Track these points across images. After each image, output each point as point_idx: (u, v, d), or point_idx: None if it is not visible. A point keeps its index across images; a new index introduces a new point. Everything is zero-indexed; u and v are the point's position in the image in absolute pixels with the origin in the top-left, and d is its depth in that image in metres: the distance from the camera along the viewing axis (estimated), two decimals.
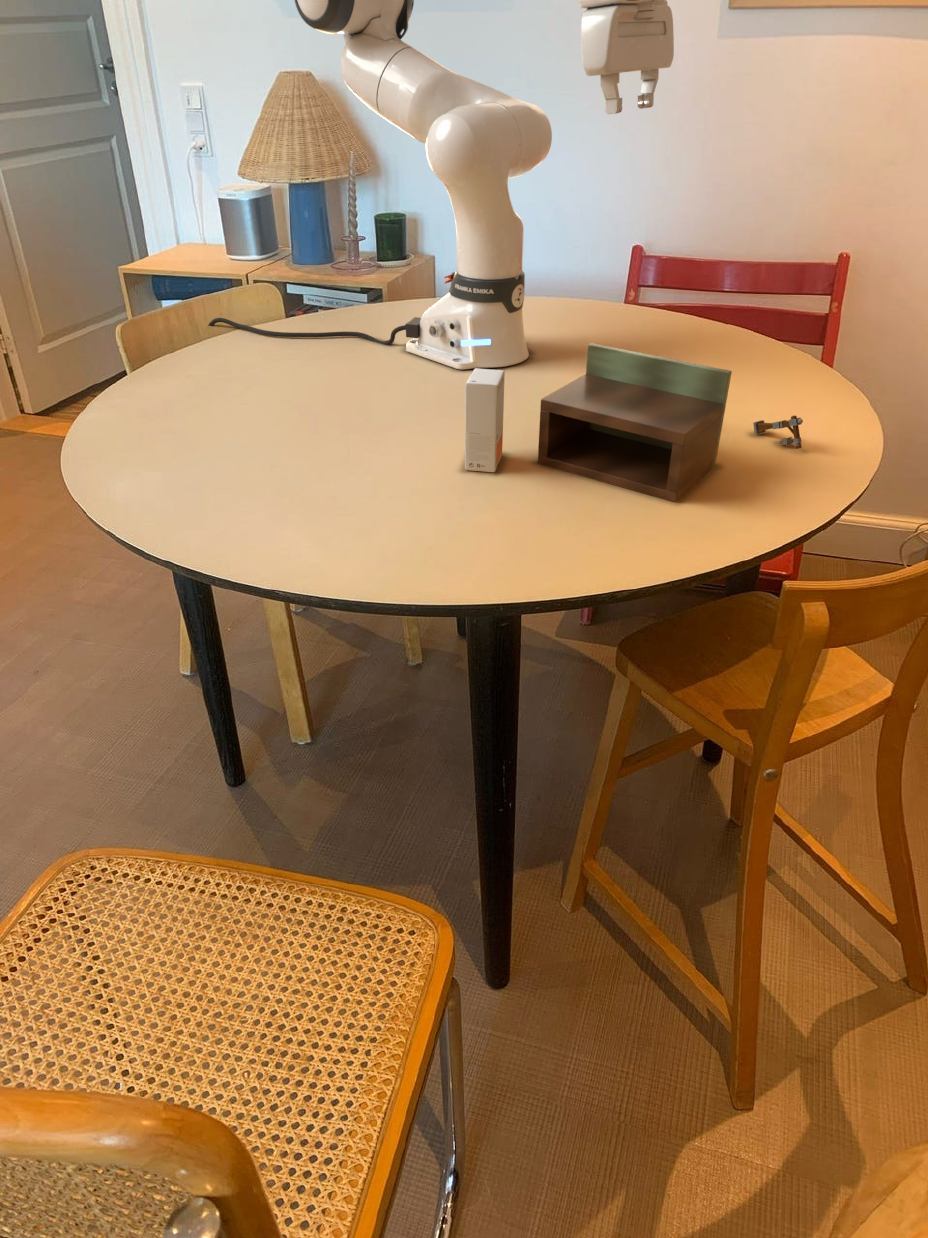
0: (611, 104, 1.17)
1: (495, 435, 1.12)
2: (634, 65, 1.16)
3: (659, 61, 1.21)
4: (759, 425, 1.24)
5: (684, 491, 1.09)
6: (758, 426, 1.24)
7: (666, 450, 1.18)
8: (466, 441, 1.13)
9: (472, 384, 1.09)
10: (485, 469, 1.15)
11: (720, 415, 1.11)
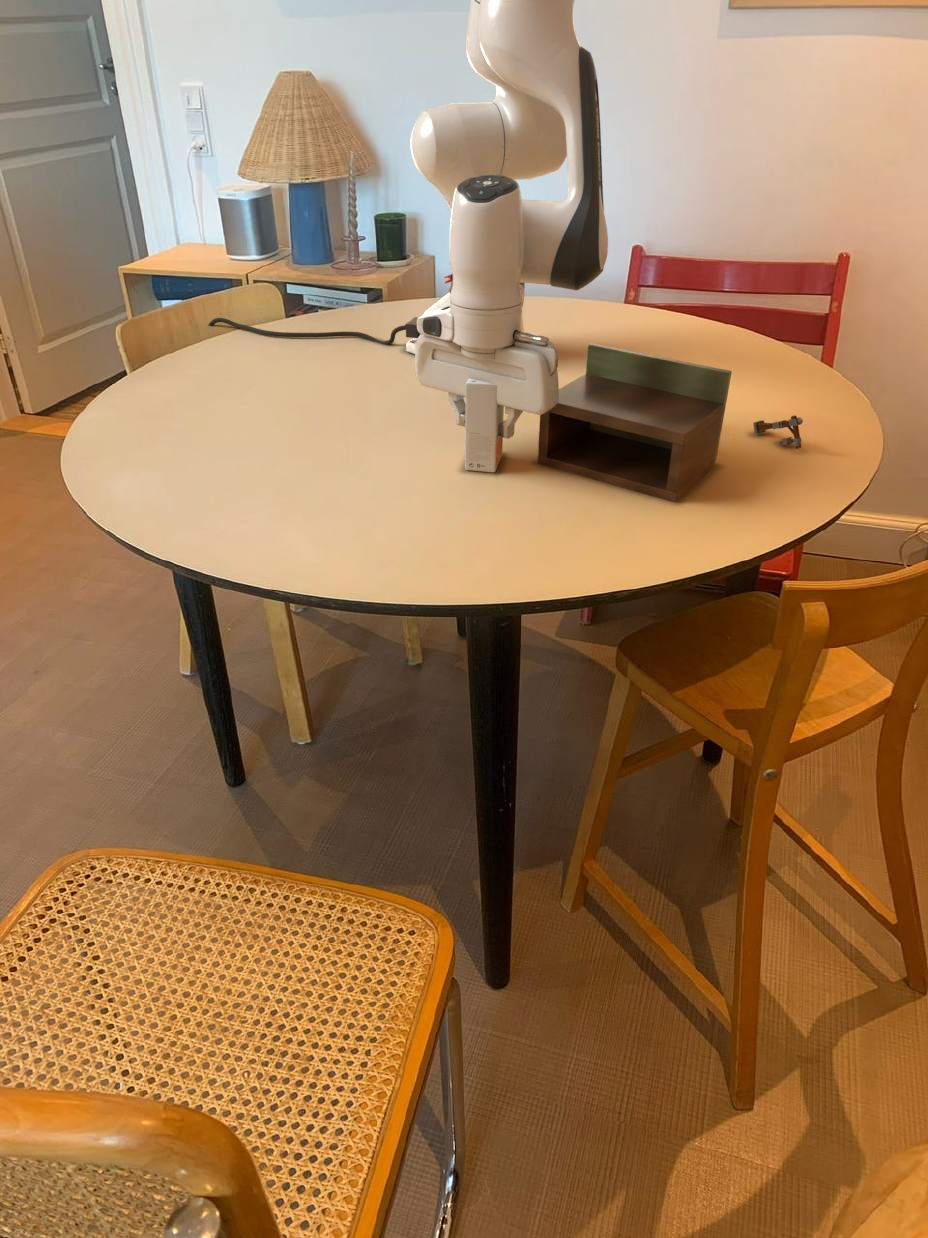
0: None
1: (495, 435, 1.12)
2: (462, 392, 1.12)
3: (510, 403, 1.08)
4: (759, 425, 1.24)
5: (684, 491, 1.09)
6: (758, 426, 1.24)
7: (666, 450, 1.18)
8: (466, 441, 1.13)
9: (472, 384, 1.09)
10: (485, 469, 1.15)
11: (720, 415, 1.11)
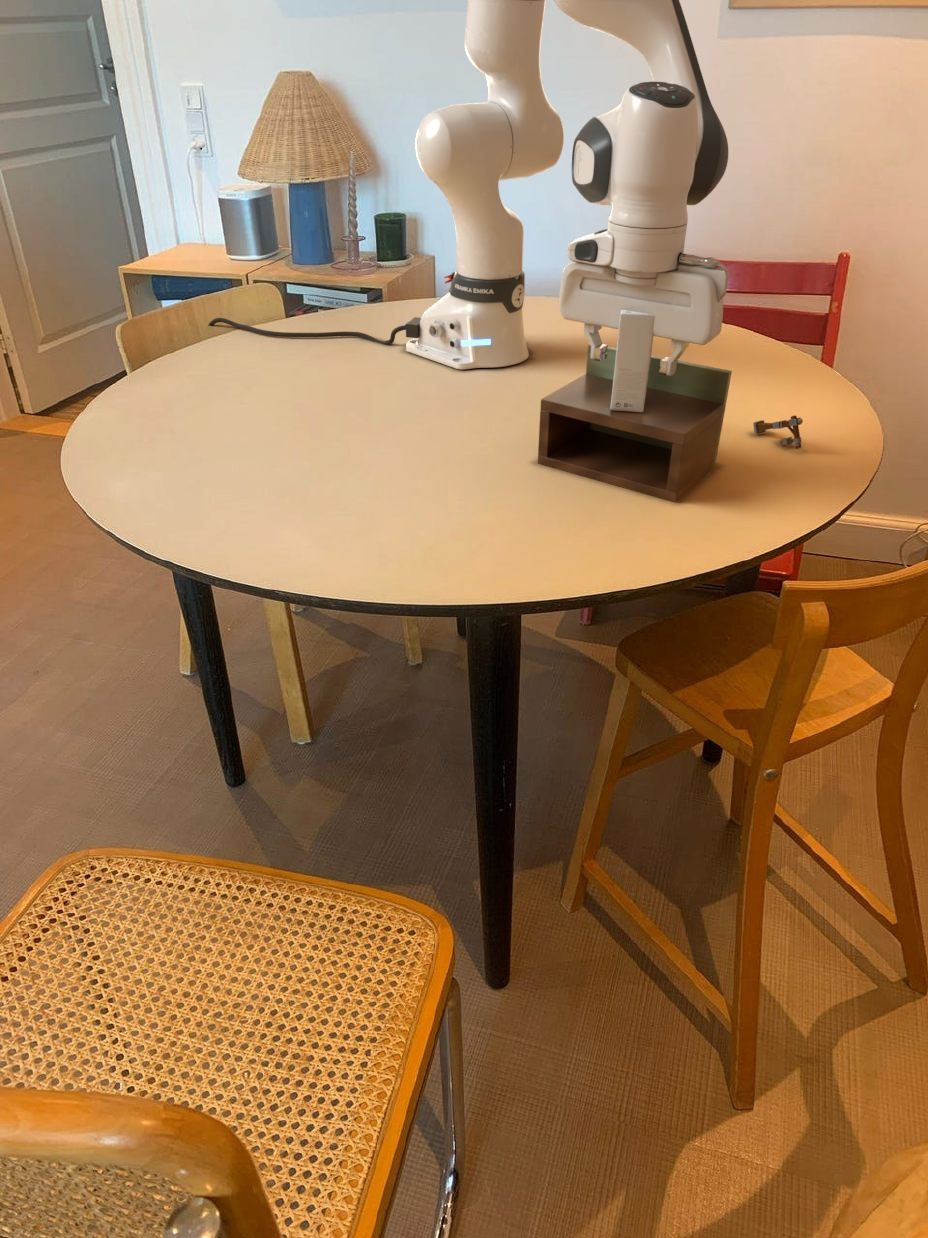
0: None
1: (647, 371, 1.05)
2: (613, 323, 1.05)
3: (669, 333, 1.01)
4: (759, 425, 1.24)
5: (684, 491, 1.09)
6: (758, 426, 1.24)
7: (666, 450, 1.18)
8: (615, 378, 1.06)
9: (628, 315, 1.02)
10: (633, 409, 1.08)
11: (720, 415, 1.11)
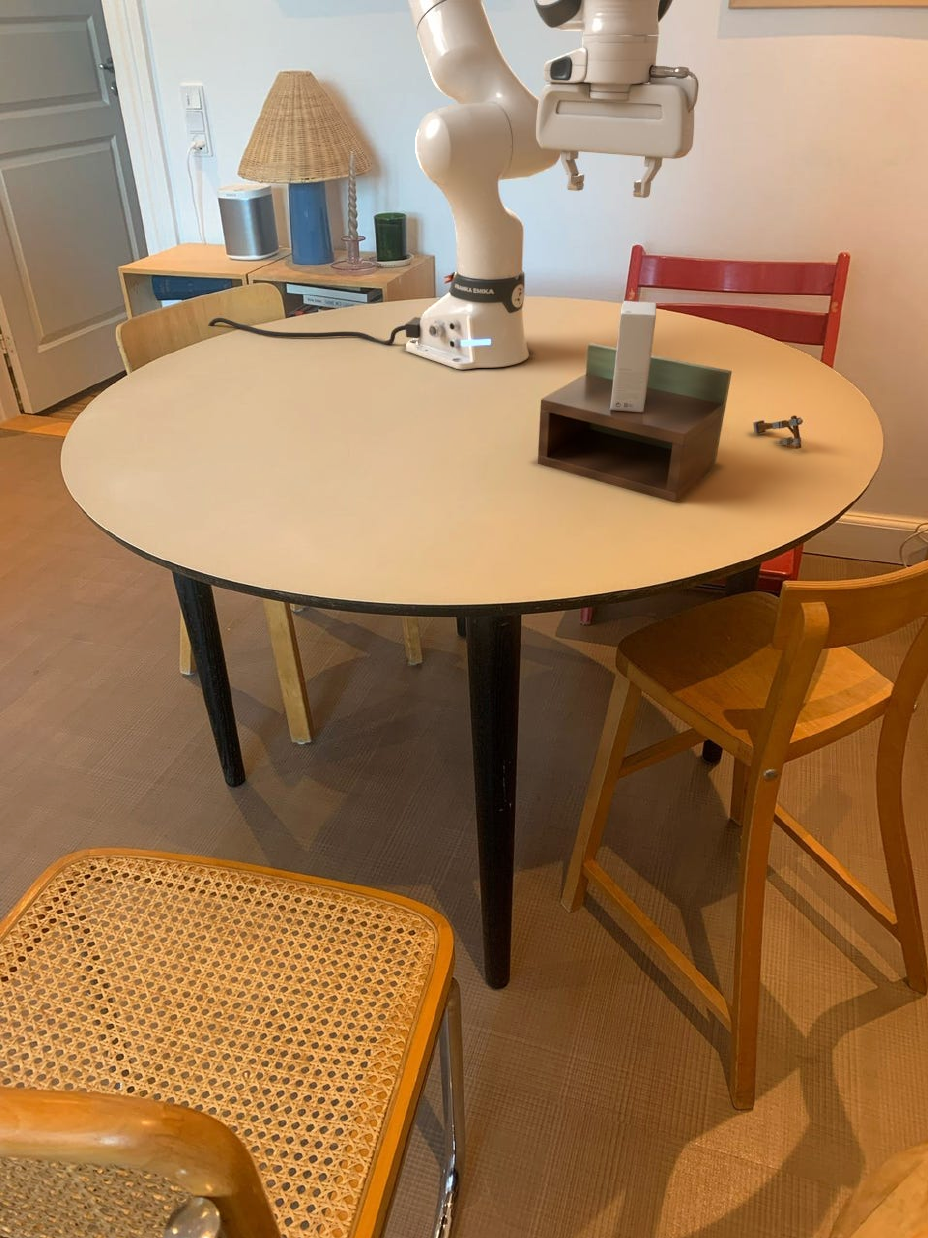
0: None
1: (647, 371, 1.05)
2: (588, 146, 1.08)
3: (642, 149, 1.04)
4: (759, 425, 1.24)
5: (684, 491, 1.09)
6: (758, 426, 1.24)
7: (666, 450, 1.18)
8: (615, 378, 1.06)
9: (628, 315, 1.02)
10: (633, 409, 1.08)
11: (720, 415, 1.11)
